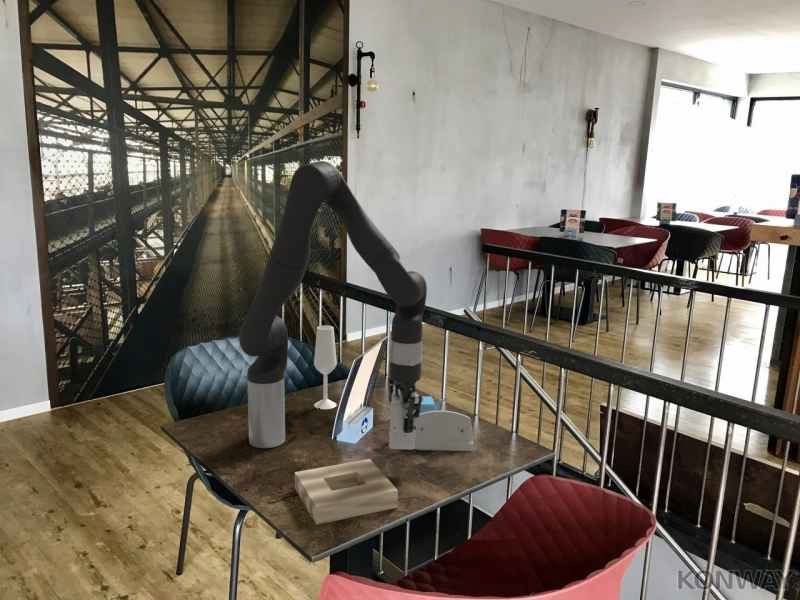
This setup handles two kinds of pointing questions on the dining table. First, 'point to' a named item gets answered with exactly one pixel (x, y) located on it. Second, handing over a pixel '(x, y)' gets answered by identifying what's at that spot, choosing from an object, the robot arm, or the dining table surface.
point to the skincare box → (400, 427)
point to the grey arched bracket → (443, 431)
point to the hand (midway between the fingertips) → (402, 426)
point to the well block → (345, 491)
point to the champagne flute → (325, 360)
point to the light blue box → (429, 404)
